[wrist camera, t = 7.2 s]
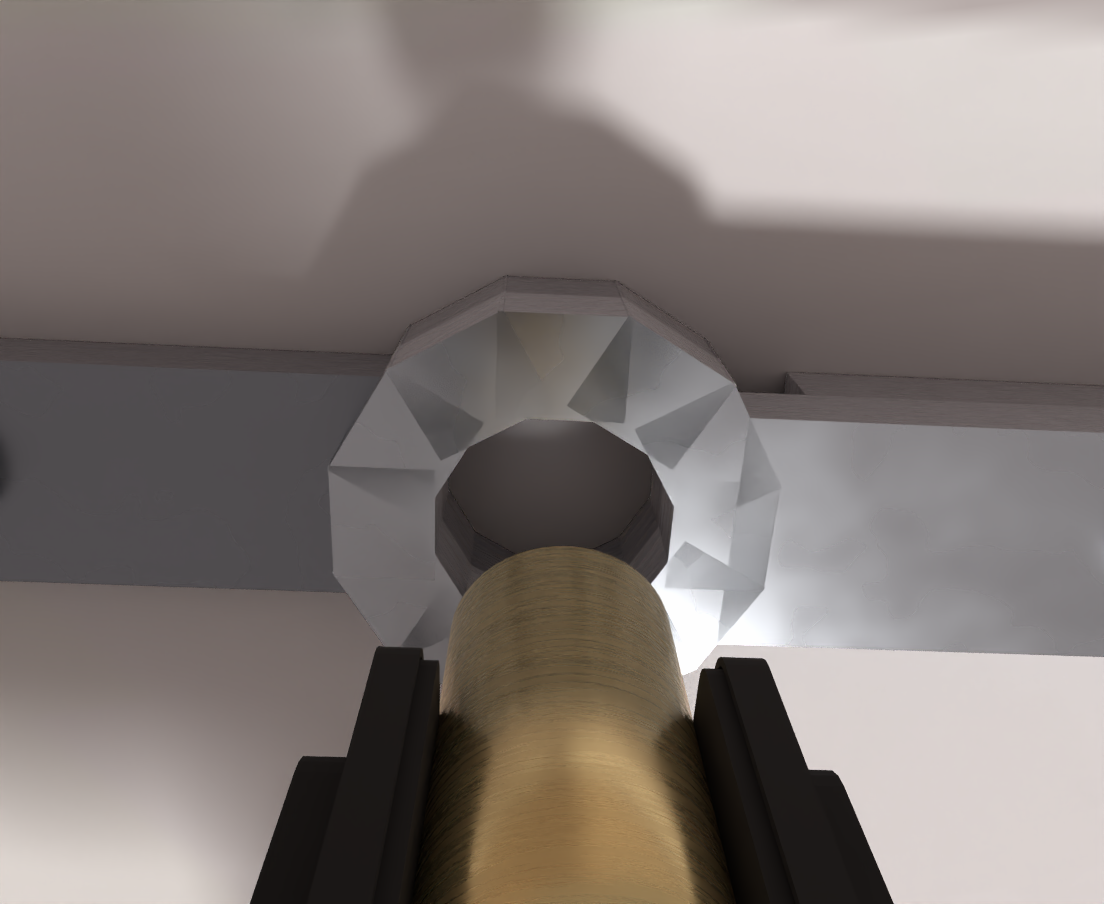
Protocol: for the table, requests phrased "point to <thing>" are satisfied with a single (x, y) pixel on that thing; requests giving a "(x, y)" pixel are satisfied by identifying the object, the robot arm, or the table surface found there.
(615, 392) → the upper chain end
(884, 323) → the table surface
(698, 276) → the table surface
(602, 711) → the brass pin
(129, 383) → the lower chain end
